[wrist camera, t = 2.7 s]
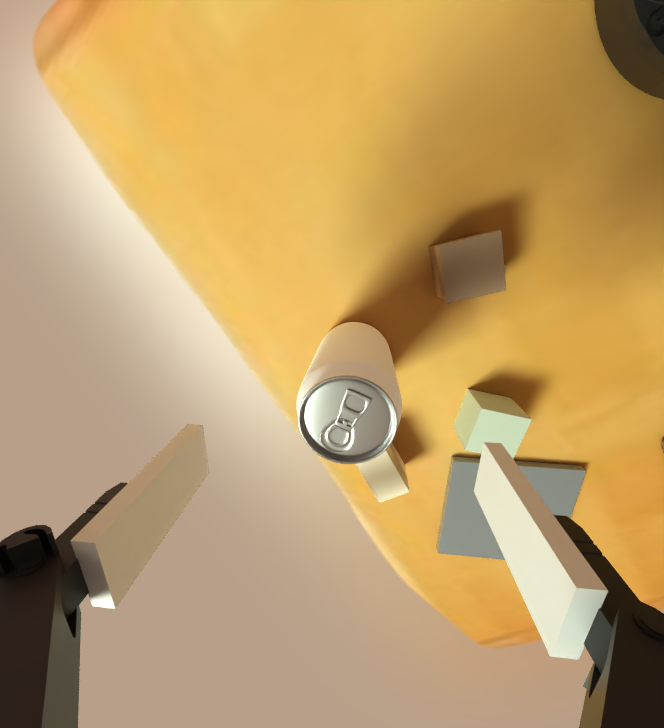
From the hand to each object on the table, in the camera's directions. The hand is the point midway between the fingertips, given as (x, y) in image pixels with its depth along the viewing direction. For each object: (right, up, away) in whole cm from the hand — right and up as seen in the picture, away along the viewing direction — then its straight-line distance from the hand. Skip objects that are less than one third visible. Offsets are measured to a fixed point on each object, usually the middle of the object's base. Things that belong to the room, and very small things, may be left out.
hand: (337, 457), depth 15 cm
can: (+2, +5, +14) cm, 15 cm away
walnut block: (+10, +12, +11) cm, 19 cm away
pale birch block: (+5, -4, +17) cm, 18 cm away
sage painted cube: (+14, 0, +15) cm, 20 cm away
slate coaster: (+17, -11, +18) cm, 27 cm away
